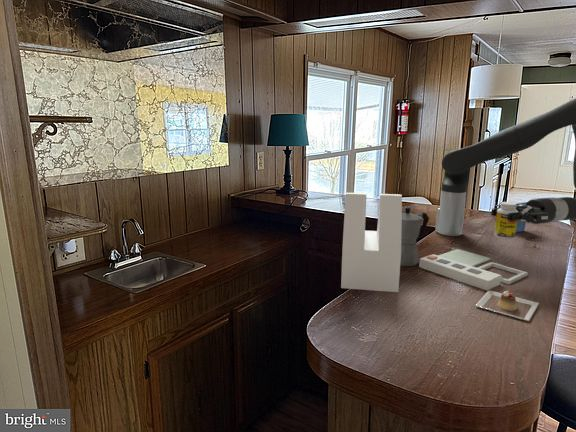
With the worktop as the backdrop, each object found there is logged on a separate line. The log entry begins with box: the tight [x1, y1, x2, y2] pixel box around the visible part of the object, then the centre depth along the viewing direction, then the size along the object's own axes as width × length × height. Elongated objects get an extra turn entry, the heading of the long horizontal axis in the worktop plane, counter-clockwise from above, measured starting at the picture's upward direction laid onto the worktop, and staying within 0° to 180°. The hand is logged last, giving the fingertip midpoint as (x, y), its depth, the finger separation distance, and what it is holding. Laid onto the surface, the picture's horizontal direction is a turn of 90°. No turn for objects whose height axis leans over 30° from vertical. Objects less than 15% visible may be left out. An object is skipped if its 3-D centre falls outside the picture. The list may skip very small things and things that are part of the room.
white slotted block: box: [340, 192, 403, 293], centre depth 120 cm, size 19×15×25 cm
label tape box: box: [515, 201, 528, 233], centre depth 168 cm, size 9×4×12 cm, turn 118°
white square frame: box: [477, 261, 528, 285], centre depth 125 cm, size 11×11×1 cm
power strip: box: [418, 253, 502, 291], centre depth 124 cm, size 22×10×3 cm, turn 37°
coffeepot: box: [400, 207, 430, 267], centre depth 134 cm, size 15×9×18 cm, turn 115°
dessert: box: [474, 289, 540, 322], centre depth 104 cm, size 12×12×5 cm
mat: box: [438, 248, 492, 267], centre depth 138 cm, size 12×12×1 cm
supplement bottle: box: [493, 201, 518, 240], centre depth 121 cm, size 6×6×10 cm
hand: (500, 214), depth 120 cm, fingers closed on supplement bottle, 5 cm apart
